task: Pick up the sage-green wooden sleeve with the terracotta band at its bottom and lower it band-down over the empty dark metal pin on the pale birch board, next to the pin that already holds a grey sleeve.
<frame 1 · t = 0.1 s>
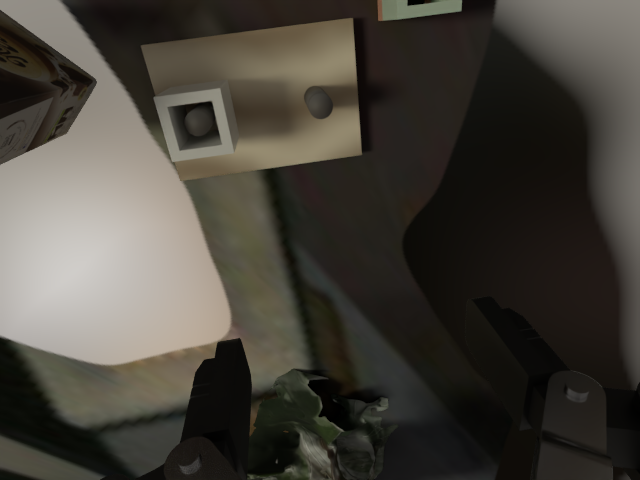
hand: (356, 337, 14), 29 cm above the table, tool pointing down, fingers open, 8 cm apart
grey sleeve: (206, 112, 37), point 1 cm above the table, touching pin board
rose bouquet: (327, 442, 62), on the table
pin board: (261, 102, 38), on the table
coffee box: (32, 72, 35), on the table
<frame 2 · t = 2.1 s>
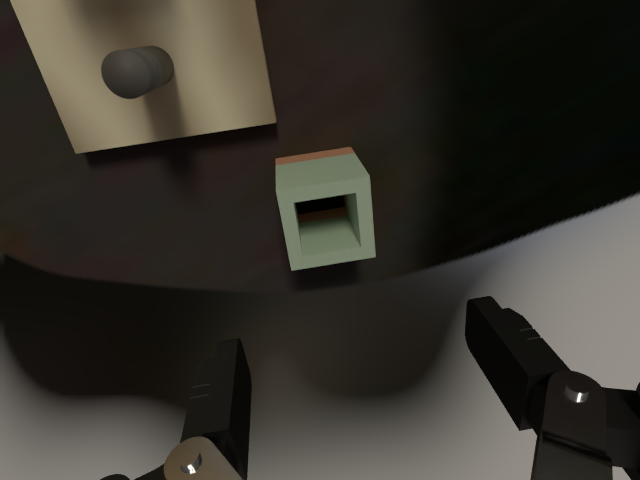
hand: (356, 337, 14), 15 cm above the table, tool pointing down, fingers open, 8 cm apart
sage sleeve: (318, 188, 28), on the table
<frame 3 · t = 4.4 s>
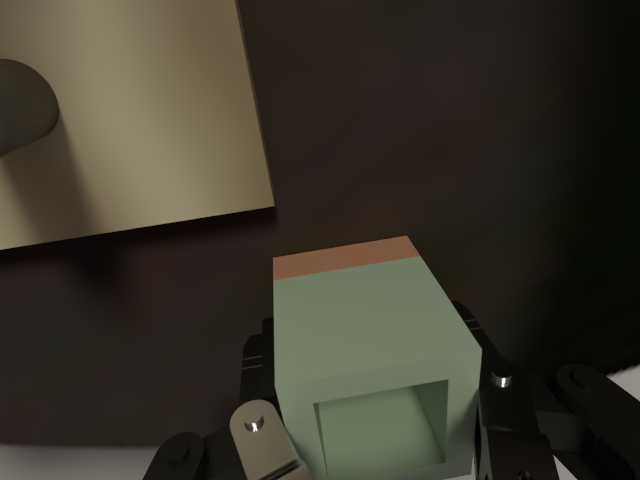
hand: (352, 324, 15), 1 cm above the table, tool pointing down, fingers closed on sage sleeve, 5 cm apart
sage sleeve: (346, 300, 16), on the table, touching gripper
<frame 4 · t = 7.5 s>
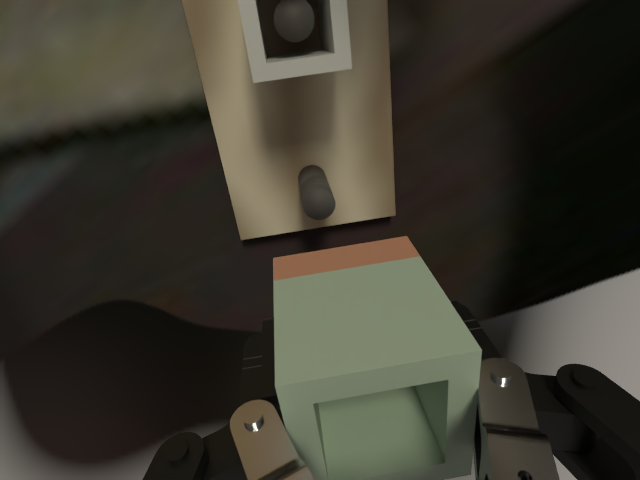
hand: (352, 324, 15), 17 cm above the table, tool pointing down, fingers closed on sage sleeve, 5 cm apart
sage sleeve: (346, 301, 16), point 16 cm above the table, touching gripper
grey sleeve: (289, 21, 24), point 1 cm above the table, touching pin board
pin board: (300, 103, 28), on the table
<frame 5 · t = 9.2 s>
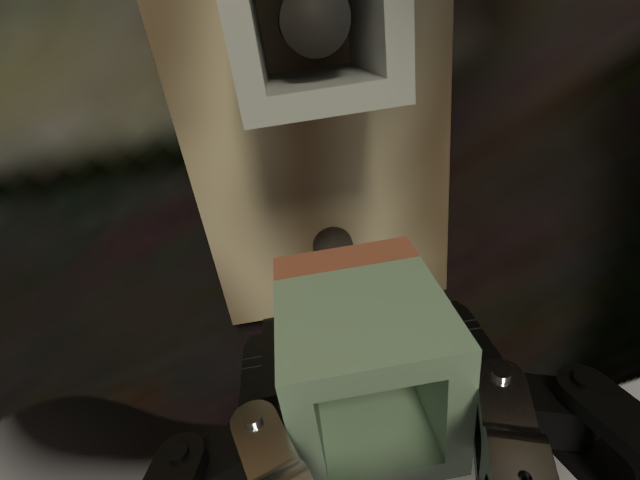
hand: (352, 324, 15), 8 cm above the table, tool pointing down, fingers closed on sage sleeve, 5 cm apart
sage sleeve: (346, 301, 16), point 6 cm above the table, touching gripper
grey sleeve: (303, 22, 16), point 1 cm above the table, touching pin board
pin board: (317, 141, 19), on the table
when the fingers open (4 cm above the table, at t = 10.8 s): sage sleeve drops 1 cm, resting on pin board.
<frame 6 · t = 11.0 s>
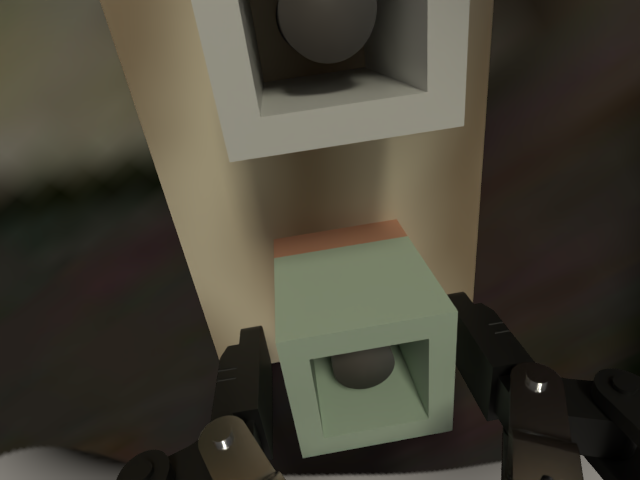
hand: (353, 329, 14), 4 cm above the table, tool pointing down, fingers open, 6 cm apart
sage sleeve: (341, 280, 17), point 1 cm above the table, touching pin board
grey sleeve: (307, 16, 13), point 1 cm above the table, touching pin board
pin board: (322, 160, 16), on the table
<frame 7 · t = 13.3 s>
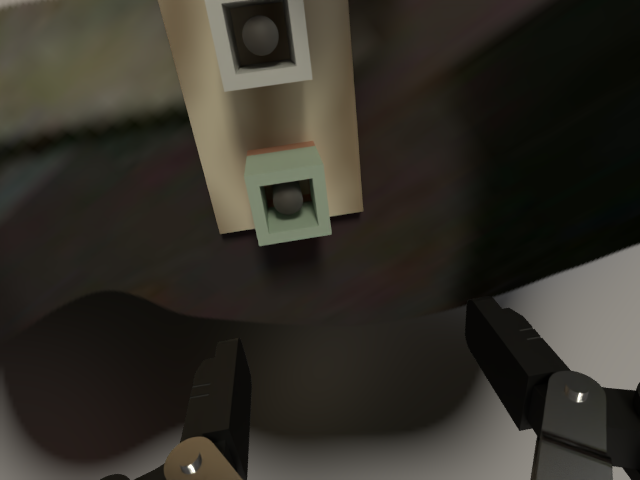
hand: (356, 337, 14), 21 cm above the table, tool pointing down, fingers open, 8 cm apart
sage sleeve: (285, 176, 31), point 1 cm above the table, touching pin board
grey sleeve: (261, 34, 27), point 1 cm above the table, touching pin board
pin board: (273, 108, 30), on the table
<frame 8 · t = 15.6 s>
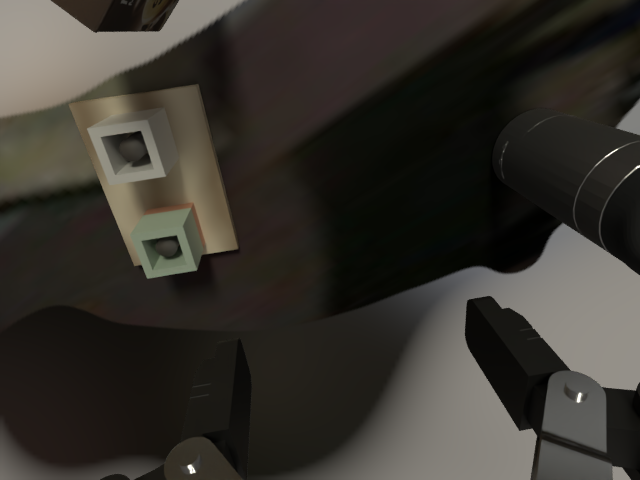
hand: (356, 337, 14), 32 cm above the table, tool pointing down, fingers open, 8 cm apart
sage sleeve: (177, 226, 45), point 1 cm above the table, touching pin board
grey sleeve: (146, 136, 40), point 1 cm above the table, touching pin board
pin board: (165, 180, 43), on the table
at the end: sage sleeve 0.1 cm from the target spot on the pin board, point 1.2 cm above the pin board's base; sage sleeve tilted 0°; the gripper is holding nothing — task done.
